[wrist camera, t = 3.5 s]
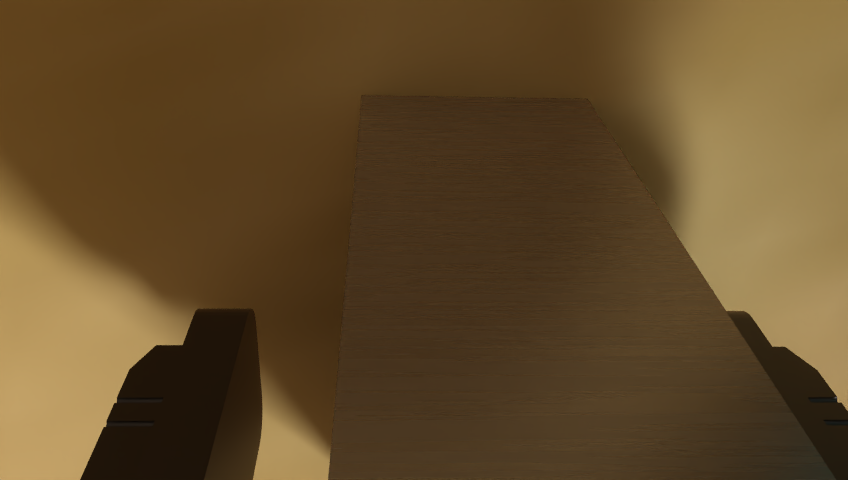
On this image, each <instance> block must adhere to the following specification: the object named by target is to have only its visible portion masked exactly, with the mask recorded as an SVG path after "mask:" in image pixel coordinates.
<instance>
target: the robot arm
mask: <svg viewBox="0 0 848 480" xmlns="http://www.w3.org/2000/svg"><path fill="white" fill-rule="evenodd" d="M726 312H727V313H728V315H729V316H730V318H731V320H732V321H733V323H734V324H735V326H736V327H737V329H738V330H739V332H740V333H741V335H742V336H743V338H744V339H745V341H746V342H747V344H748V346H749V347H750V349H751V350H752V352H753V353H754V355H755V356H756V358H757V359H758V361H759V362H760V364H761V365H762V367H763V368H764V370H765V372H766V373H767V375H768V376H769V378H770V379H771V381H772V382H773V384H774V385H775V387H776V388H777V390H778V391H779V393H780V394H781V396H782V398H783V399H784V401H785V402H786V404H787V405H788V407H789V408H790V410H791V411H792V413H793V414H794V416H795V417H796V419H797V420H798V422H799V424H800V425H801V427H802V428H803V430H804V431H805V433H806V434H807V436H808V437H809V439H810V440H811V442H812V443H813V445H814V446H815V448H816V450H817V451H818V453H819V454H820V456H821V457H822V459H823V460H824V462H825V463H826V465H827V466H828V468H829V469H830V471H831V473H832V474H833V476H834V477H835V479H836V480H848V411H847V410H846V408H845V407H844V406H843V404H842V403H838V402H837V396H836V395H835V394H834V392H833V391H832V390H831V388H830V387H829V386H828V384H827V383H826V382H825V380H824V379H823V378H822V376H821V375H820V374H819V372H818V371H817V370H816V369H815V368H813V367H812V366H811V365H809V364H808V363H806V362H805V361H804V360H802V359H801V358H800V357H798V356H797V355H795V354H794V353H793V352H791V351H790V350H789V349H787V348H786V347H772V346H771V344H770V343H769V341H768V340H767V338H766V337H765V336H764V334H763V333H762V331H761V330H760V328H759V327H758V326H757V324H756V323H755V321H754V320H753V318H752V317H751V316H750V315H749V314H748V313H747V312H744V311H726ZM261 429H262V390H261V379H260V367H259V355H258V343H257V331H256V320H255V315H254V311H253V309H197V310H196V312H195V314H194V316H193V319H192V322H191V324H190V327H189V330H188V333H187V335H186V338H185V341H184V343H183V345H156V346H155V347H154V348H153V349H152V350H150V351H149V352H148V353H147V354H146V355H145V356H144V357H143V358H142V359H141V360H139V361H138V362H137V363H136V364H135V365H134V366H133V367H132V368H131V369H130V370H129V372H128V374H127V376H126V379H125V381H124V383H123V385H122V388H121V390H120V392H119V394H118V396H117V403H114V405H113V408H112V410H111V412H110V414H109V417H108V419H107V425H106V427H104V428H103V430H102V432H101V434H100V437H99V439H98V441H97V443H96V446H95V448H94V450H93V452H92V455H91V457H90V459H89V461H88V464H87V466H86V468H85V470H84V473H83V475H82V477H81V479H80V480H253V475H254V470H255V465H256V460H257V455H258V450H259V445H260V438H261Z"/></svg>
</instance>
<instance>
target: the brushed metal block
mask: <svg viewBox="0 0 848 480" xmlns="http://www.w3.org/2000/svg"><path fill="white" fill-rule="evenodd" d="M328 480H836V479H835V477H834V476H833V474H832V473H831V471H830V469H829V468H828V466H827V465H826V463H825V462H824V460H823V459H822V457H821V456H820V454H819V453H818V451H817V450H816V448H815V446H814V445H813V443H812V442H811V440H810V439H809V437H808V436H807V434H806V433H805V431H804V430H803V428H802V427H801V425H800V424H799V422H798V420H797V419H796V417H795V416H794V414H793V413H792V411H791V410H790V408H789V407H788V405H787V404H786V402H785V401H784V399H783V398H782V396H781V394H780V393H779V391H778V390H777V388H776V387H775V385H774V384H773V382H772V381H771V379H770V378H769V376H768V375H767V373H766V372H765V370H764V368H763V367H762V365H761V364H760V362H759V361H758V359H757V358H756V356H755V355H754V353H753V352H752V350H751V349H750V347H749V346H748V344H747V342H746V341H745V339H744V338H743V336H742V335H741V333H740V332H739V330H738V329H737V327H736V326H735V324H734V323H733V321H732V320H731V318H730V316H729V315H728V313H727V312H726V310H725V309H724V307H723V306H722V304H721V303H720V301H719V300H718V298H717V297H716V295H715V294H714V292H713V290H712V289H711V287H710V286H709V284H708V283H707V281H706V280H705V278H704V277H703V275H702V274H701V272H700V271H699V269H698V267H697V266H696V264H695V263H694V261H693V260H692V258H691V257H690V255H689V254H688V252H687V251H686V249H685V248H684V246H683V245H682V243H681V241H680V240H679V238H678V237H677V235H676V234H675V232H674V231H673V229H672V228H671V226H670V225H669V223H668V222H667V220H666V219H665V217H664V215H663V214H662V212H661V211H660V209H659V208H658V206H657V205H656V203H655V202H654V200H653V199H652V197H651V196H650V194H649V193H648V191H647V189H646V188H645V186H644V185H643V183H642V182H641V180H640V179H639V177H638V176H637V174H636V173H635V171H634V170H633V168H632V167H631V165H630V163H629V162H628V160H627V159H626V157H625V156H624V154H623V153H622V151H621V150H620V148H619V147H618V145H617V144H616V142H615V141H614V139H613V137H612V136H611V134H610V133H609V131H608V130H607V128H606V127H605V125H604V124H603V122H602V121H601V119H600V118H599V116H598V114H597V113H596V111H595V110H594V108H593V107H592V105H591V104H590V102H589V101H588V99H556V98H493V97H430V96H367V95H362V97H361V109H360V120H359V132H358V143H357V155H356V166H355V178H354V189H353V201H352V212H351V224H350V235H349V247H348V258H347V270H346V281H345V293H344V304H343V316H342V327H341V339H340V351H339V362H338V374H337V385H336V397H335V408H334V420H333V431H332V443H331V454H330V466H329V477H328Z"/></svg>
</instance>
